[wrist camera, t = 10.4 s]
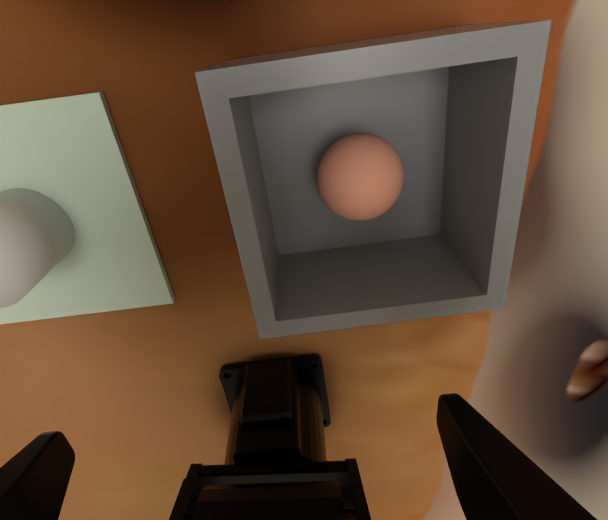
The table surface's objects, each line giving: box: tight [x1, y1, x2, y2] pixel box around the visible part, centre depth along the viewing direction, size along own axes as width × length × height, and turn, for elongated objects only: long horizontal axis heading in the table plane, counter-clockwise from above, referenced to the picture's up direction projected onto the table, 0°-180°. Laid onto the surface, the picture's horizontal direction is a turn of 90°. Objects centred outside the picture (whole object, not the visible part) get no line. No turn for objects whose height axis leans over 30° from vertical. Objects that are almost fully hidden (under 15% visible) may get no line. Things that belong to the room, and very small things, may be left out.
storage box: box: [195, 20, 551, 339], centre depth 16 cm, size 10×10×6 cm
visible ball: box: [317, 133, 404, 221], centre depth 17 cm, size 4×4×4 cm
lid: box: [0, 91, 175, 324], centre depth 18 cm, size 11×11×5 cm
